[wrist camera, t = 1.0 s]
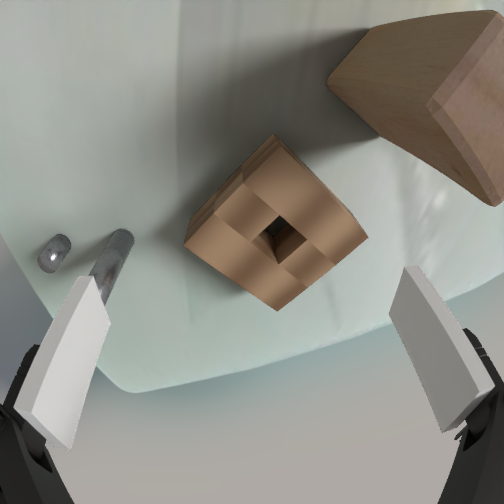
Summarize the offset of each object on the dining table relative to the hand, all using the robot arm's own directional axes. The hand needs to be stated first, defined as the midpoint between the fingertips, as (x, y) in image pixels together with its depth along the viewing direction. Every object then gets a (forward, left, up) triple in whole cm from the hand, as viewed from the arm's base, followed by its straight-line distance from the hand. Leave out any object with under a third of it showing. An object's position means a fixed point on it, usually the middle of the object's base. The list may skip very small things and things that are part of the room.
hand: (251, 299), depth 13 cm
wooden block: (+5, +17, -24) cm, 30 cm away
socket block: (+8, -3, -24) cm, 26 cm away
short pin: (-11, -25, -24) cm, 37 cm away
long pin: (-4, -18, -24) cm, 31 cm away
